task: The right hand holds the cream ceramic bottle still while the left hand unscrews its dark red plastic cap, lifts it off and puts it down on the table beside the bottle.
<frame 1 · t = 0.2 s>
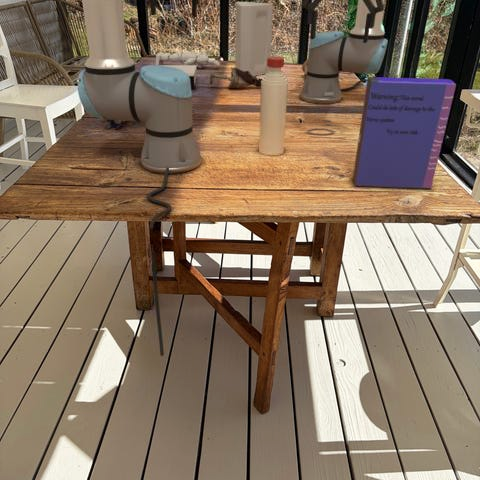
left hand: (173, 15, 151), 29 cm above the table, tool pointing down, fingers open, 13 cm apart
right hand: (338, 40, 122), 28 cm above the table, tool pointing down, fingers open, 13 cm apart
tall white box: (253, 72, 218), on the table
toy: (188, 67, 225), on the table
figurine: (247, 88, 192), on the table
bottle: (271, 150, 132), on the table
anatomical model: (311, 78, 209), on the table
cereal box: (390, 184, 114), on the table
cap: (275, 59, 119), point 24 cm above the table, screwed on, not yet turned
figurine character: (119, 124, 150), on the table
disc drive: (174, 83, 198), on the table
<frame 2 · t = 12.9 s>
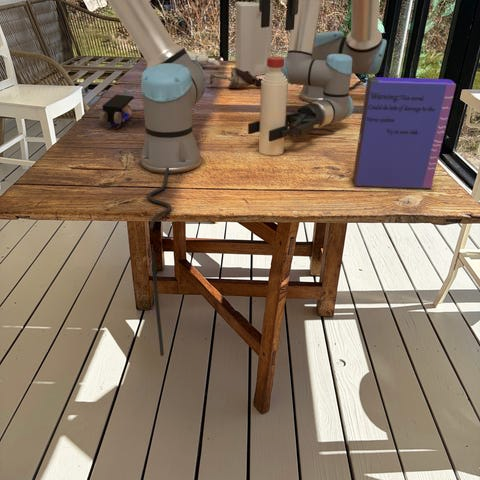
left hand: (277, 28, 116), 31 cm above the table, tool pointing down, fingers open, 6 cm apart
right hand: (259, 132, 126), 6 cm above the table, tool horizontal, fingers closed on bottle, 7 cm apart
bottle: (271, 150, 132), on the table, touching right hand
everything else where it was.
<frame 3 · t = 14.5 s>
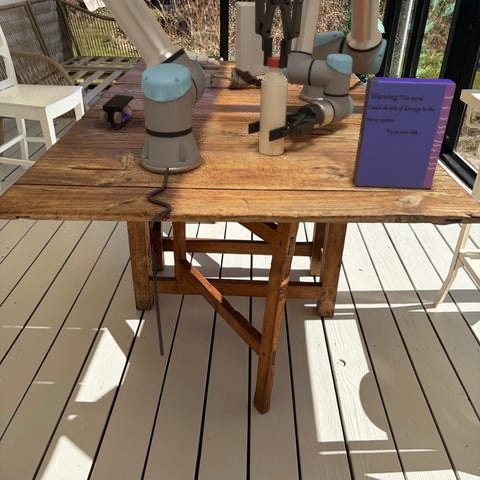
left hand: (275, 66, 120), 22 cm above the table, tool pointing down, fingers closed on cap, 4 cm apart
right hand: (259, 132, 126), 6 cm above the table, tool horizontal, fingers closed on bottle, 7 cm apart
bottle: (271, 150, 132), on the table, touching right hand
cap: (275, 59, 119), point 24 cm above the table, screwed on, not yet turned, touching left hand
everything else where it was.
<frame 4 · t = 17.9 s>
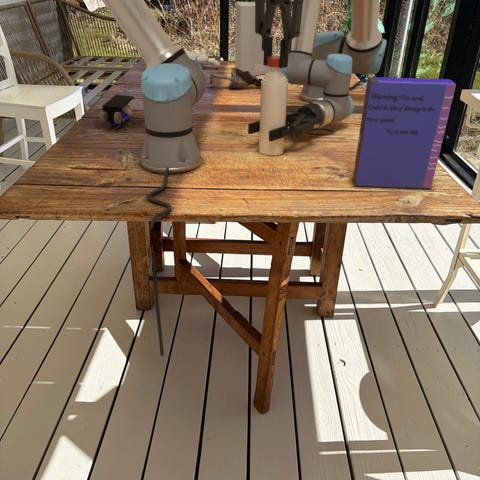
left hand: (275, 65, 120), 23 cm above the table, tool pointing down, fingers closed on cap, 4 cm apart
right hand: (259, 132, 126), 6 cm above the table, tool horizontal, fingers closed on bottle, 7 cm apart
bottle: (271, 150, 132), on the table, touching right hand
cap: (275, 58, 119), point 24 cm above the table, turned 107° so far, risen 0.1 cm, still on its thread, touching left hand
everything else where it was.
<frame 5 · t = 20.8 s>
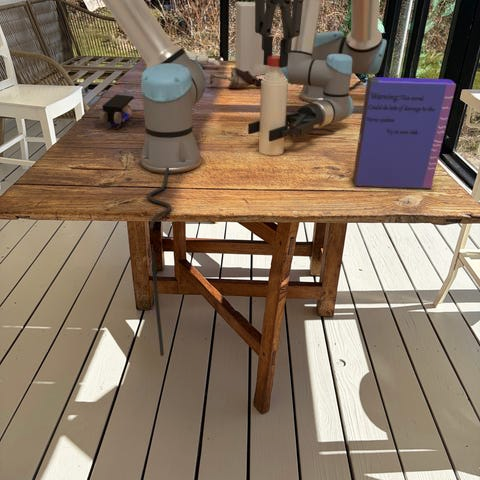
left hand: (275, 65, 120), 23 cm above the table, tool pointing down, fingers closed on cap, 4 cm apart
right hand: (259, 132, 126), 6 cm above the table, tool horizontal, fingers closed on bottle, 7 cm apart
bottle: (271, 150, 132), on the table, touching right hand
cap: (275, 58, 119), point 24 cm above the table, turned 215° so far, risen 0.2 cm, still on its thread, touching left hand
everything else where it was.
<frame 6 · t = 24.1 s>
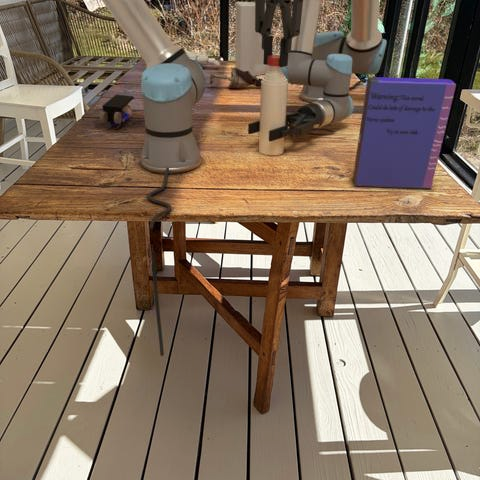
left hand: (275, 64, 120), 23 cm above the table, tool pointing down, fingers closed on cap, 4 cm apart
right hand: (259, 132, 126), 6 cm above the table, tool horizontal, fingers closed on bottle, 7 cm apart
bottle: (271, 150, 132), on the table, touching right hand
cap: (275, 57, 119), point 24 cm above the table, turned 322° so far, risen 0.4 cm, still on its thread, touching left hand
everything else where it was.
when the left hand's fingers open (2 cm above the table, at t = 31.2 s): cap drops 2 cm, point 2 cm above the table.
when the right hand's fingers open (6 cm above the table, at t = 32.5 s): bottle stays where it is, on the table.
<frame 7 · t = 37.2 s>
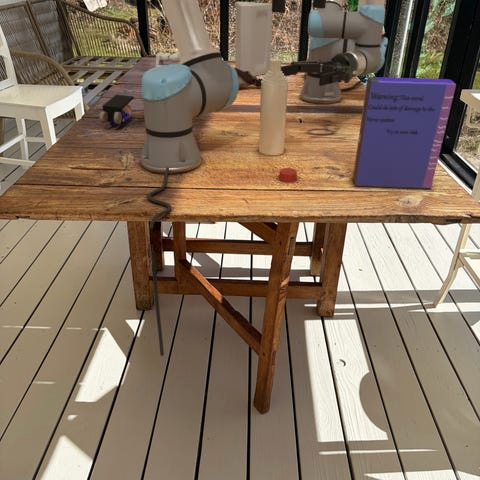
left hand: (299, 10, 97), 37 cm above the table, tool pointing down, fingers open, 13 cm apart
right hand: (300, 76, 128), 19 cm above the table, tool horizontal, fingers open, 13 cm apart
bottle: (271, 150, 132), on the table
cap: (288, 172, 115), point 2 cm above the table, off its thread
everything else where it was.
at the end: cap came off its thread; cap point 1.6 cm above the table; the left hand is holding nothing; the right hand is holding nothing; bottle tilted 0°; bottle moved 0.0 cm from its start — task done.
